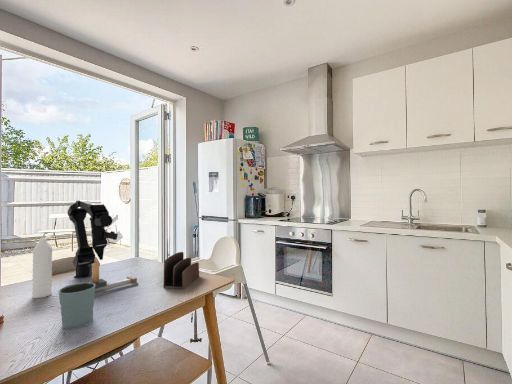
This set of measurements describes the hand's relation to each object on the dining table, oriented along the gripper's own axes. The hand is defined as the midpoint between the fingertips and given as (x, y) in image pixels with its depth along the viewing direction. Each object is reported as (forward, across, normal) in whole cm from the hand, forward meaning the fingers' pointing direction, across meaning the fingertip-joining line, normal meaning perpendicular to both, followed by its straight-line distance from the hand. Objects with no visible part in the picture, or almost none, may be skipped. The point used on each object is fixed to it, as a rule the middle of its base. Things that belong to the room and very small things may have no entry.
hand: (101, 259), depth 129 cm
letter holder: (+18, -20, -33) cm, 43 cm away
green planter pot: (+16, -43, +10) cm, 47 cm away
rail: (+13, -13, 0) cm, 18 cm away
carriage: (+10, -14, +3) cm, 18 cm away
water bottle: (+10, -4, +23) cm, 25 cm away
